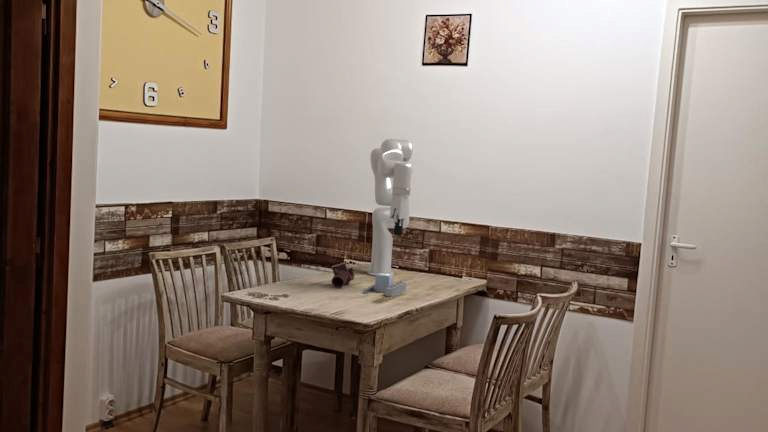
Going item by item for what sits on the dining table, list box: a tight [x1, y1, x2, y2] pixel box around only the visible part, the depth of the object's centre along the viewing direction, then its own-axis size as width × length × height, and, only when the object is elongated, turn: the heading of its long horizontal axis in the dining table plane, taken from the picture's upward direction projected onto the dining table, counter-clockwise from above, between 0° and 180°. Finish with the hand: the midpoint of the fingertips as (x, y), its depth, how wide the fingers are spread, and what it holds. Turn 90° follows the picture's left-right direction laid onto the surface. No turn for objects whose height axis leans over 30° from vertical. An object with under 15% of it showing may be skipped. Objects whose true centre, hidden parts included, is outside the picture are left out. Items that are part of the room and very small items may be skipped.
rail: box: [363, 281, 407, 298], centre depth 325 cm, size 12×18×4 cm
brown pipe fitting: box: [331, 262, 355, 289], centre depth 333 cm, size 6×17×10 cm, turn 171°
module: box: [374, 273, 394, 293], centre depth 325 cm, size 6×5×7 cm
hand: (398, 234), depth 329 cm, fingers closed
